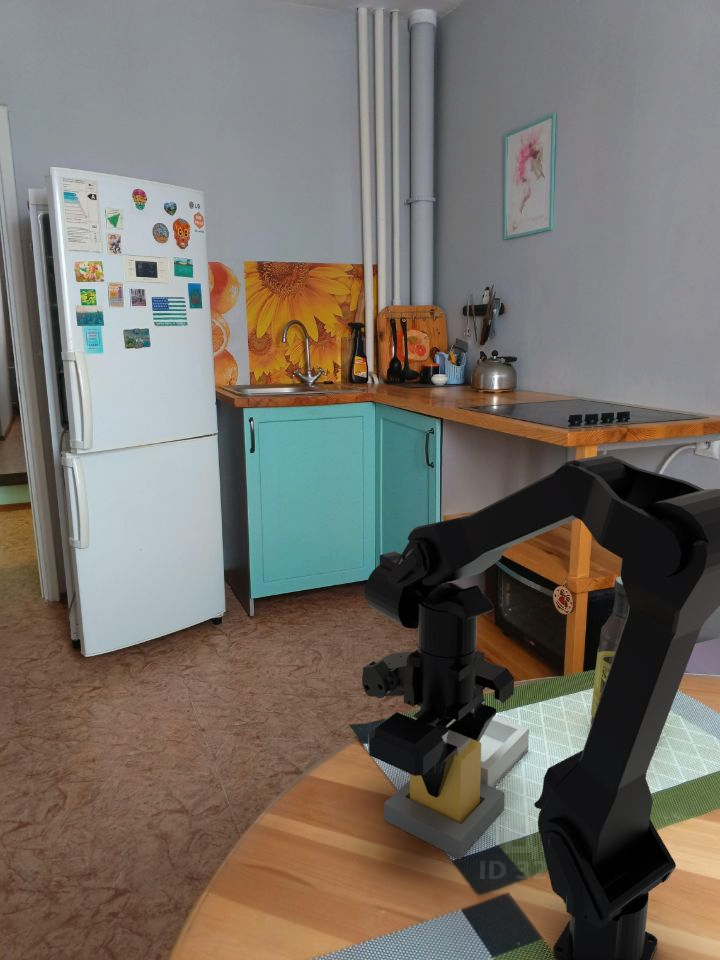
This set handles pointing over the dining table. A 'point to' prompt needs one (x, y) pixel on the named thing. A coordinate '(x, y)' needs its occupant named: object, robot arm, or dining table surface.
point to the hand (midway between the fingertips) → (444, 784)
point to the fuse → (454, 782)
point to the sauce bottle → (609, 642)
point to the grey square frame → (444, 820)
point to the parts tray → (501, 749)
